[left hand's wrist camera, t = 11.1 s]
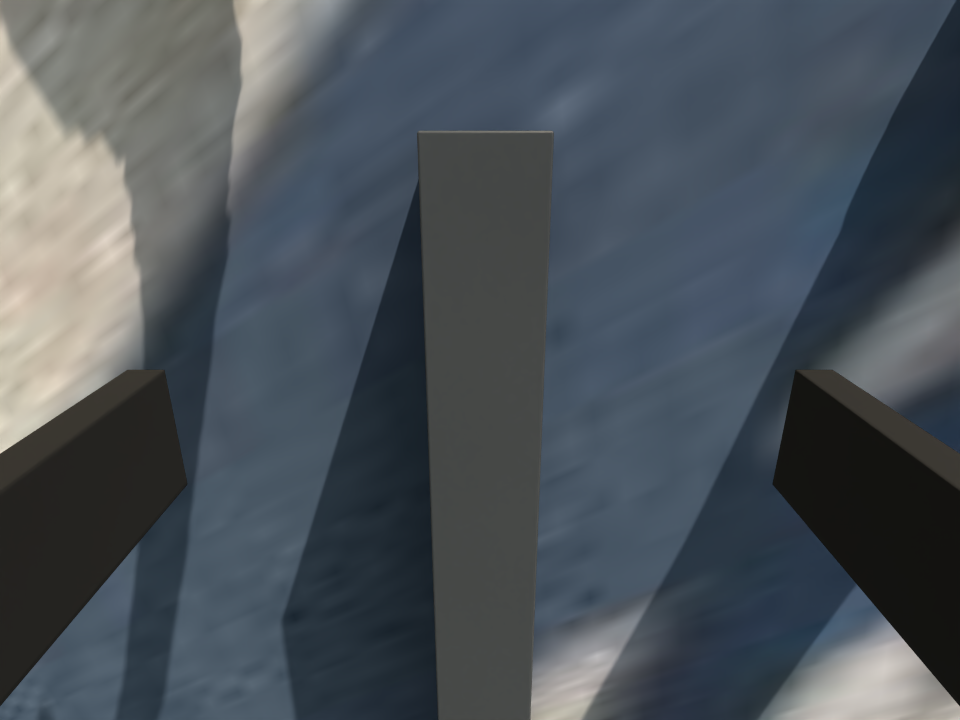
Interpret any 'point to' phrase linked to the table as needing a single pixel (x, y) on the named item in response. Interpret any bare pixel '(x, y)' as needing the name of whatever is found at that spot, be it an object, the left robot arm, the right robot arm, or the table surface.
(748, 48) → the table surface
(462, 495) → the beam
